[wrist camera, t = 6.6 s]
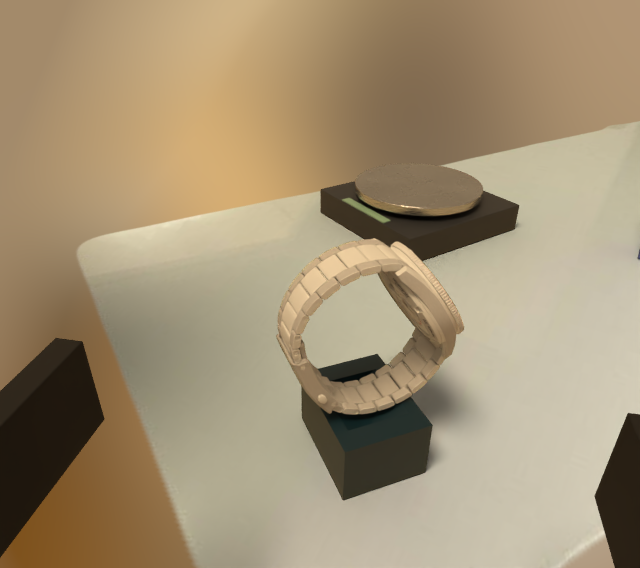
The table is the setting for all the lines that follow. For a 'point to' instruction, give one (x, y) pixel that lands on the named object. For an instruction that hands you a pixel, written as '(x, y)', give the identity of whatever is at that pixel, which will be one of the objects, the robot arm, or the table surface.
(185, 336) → the table surface
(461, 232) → the scale
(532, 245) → the table surface
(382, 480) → the watch
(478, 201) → the scale pan
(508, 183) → the table surface
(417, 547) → the table surface
